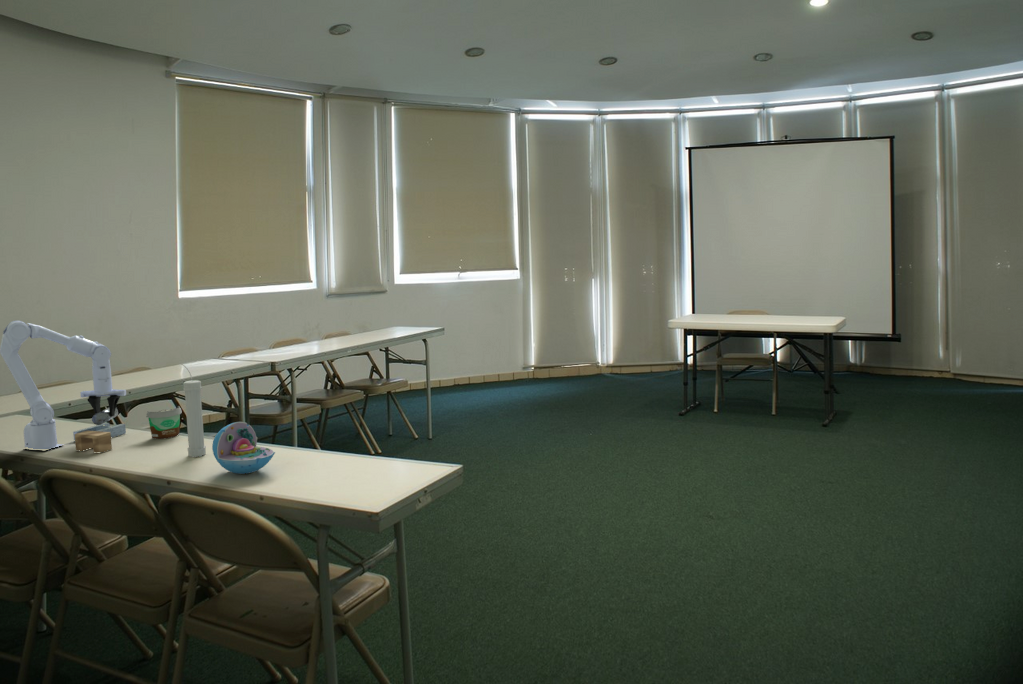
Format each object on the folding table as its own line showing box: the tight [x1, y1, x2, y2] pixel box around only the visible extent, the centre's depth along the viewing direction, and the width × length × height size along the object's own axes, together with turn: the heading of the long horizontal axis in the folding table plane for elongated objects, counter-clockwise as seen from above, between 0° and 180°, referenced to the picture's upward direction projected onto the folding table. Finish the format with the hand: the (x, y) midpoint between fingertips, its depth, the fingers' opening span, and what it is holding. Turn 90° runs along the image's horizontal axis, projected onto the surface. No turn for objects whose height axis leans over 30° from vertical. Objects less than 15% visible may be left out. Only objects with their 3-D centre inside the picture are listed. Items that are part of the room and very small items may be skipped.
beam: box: [74, 431, 113, 453], centre depth 246 cm, size 10×5×6 cm, turn 73°
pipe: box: [181, 363, 206, 458], centre depth 237 cm, size 6×6×30 cm
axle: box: [91, 407, 119, 426], centre depth 260 cm, size 4×12×4 cm, turn 5°
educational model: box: [211, 421, 276, 475], centre depth 218 cm, size 16×19×15 cm
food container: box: [146, 405, 183, 440], centre depth 263 cm, size 12×6×10 cm, turn 143°
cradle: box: [72, 422, 127, 441], centre depth 264 cm, size 9×14×4 cm, turn 163°
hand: (105, 416), depth 260 cm, fingers closed on axle, 4 cm apart
